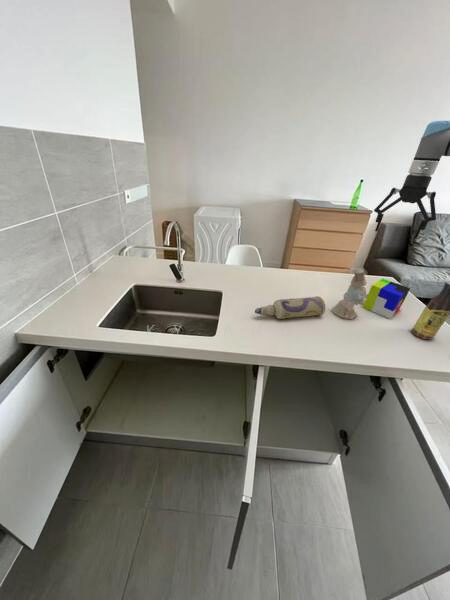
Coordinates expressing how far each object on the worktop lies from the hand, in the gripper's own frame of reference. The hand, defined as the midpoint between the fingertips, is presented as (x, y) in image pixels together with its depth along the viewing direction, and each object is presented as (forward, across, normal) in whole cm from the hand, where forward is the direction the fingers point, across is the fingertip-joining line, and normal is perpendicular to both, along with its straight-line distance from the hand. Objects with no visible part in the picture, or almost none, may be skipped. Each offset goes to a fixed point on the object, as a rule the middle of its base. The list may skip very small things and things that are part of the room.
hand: (395, 234), depth 97 cm
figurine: (+26, -5, -29) cm, 39 cm away
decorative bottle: (+26, -22, -44) cm, 55 cm away
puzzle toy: (+26, +6, -15) cm, 30 cm away
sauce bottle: (+26, +20, -25) cm, 41 cm away
